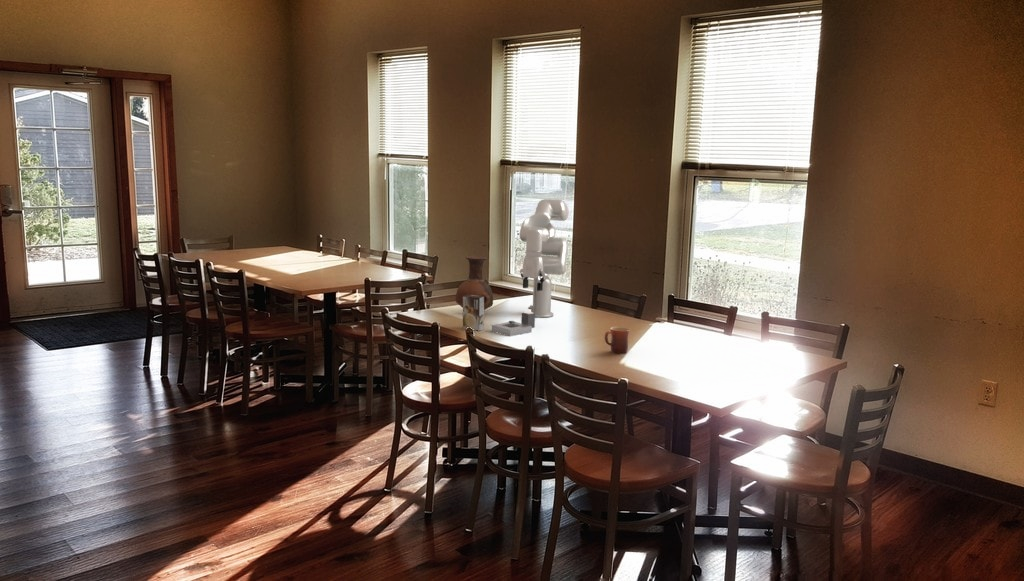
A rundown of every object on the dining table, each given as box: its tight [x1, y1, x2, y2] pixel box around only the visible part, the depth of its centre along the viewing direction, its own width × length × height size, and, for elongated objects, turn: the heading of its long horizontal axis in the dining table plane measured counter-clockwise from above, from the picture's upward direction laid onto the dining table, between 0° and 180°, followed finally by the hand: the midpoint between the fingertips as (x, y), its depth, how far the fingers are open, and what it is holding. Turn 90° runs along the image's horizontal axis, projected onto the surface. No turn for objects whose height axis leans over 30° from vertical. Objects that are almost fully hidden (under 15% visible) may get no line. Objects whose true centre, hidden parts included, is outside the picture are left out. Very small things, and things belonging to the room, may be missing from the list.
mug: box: [604, 326, 631, 354], centre depth 342 cm, size 12×9×10 cm
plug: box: [520, 311, 536, 329], centre depth 388 cm, size 5×5×7 cm
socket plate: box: [491, 320, 533, 337], centre depth 377 cm, size 13×14×4 cm
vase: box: [455, 255, 494, 311], centre depth 414 cm, size 25×20×30 cm
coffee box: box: [462, 295, 485, 332], centre depth 380 cm, size 9×6×16 cm
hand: (532, 289), depth 385 cm, fingers open, 9 cm apart
